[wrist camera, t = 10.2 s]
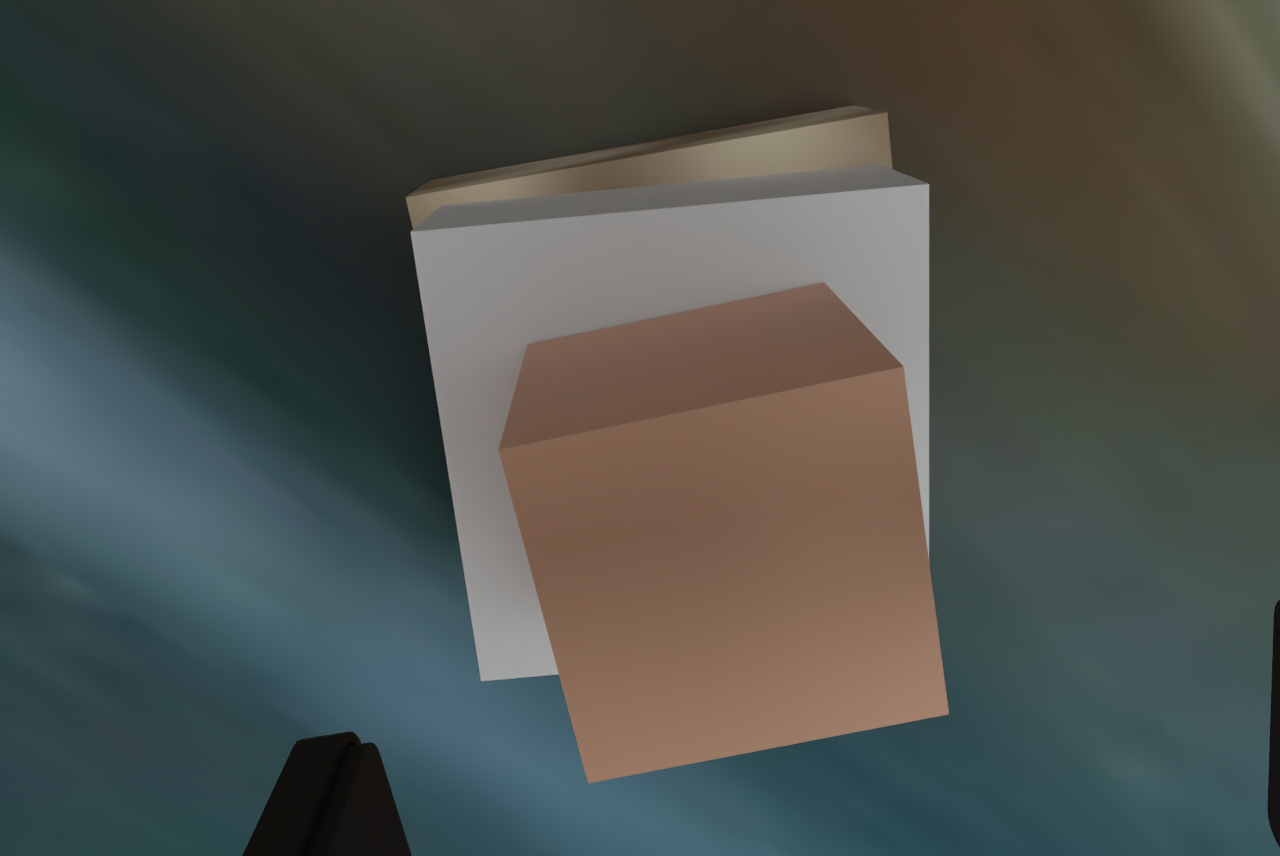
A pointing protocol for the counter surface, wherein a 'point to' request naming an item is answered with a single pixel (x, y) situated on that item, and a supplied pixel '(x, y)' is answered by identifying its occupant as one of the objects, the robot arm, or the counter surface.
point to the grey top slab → (635, 291)
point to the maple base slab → (680, 160)
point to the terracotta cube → (725, 531)
